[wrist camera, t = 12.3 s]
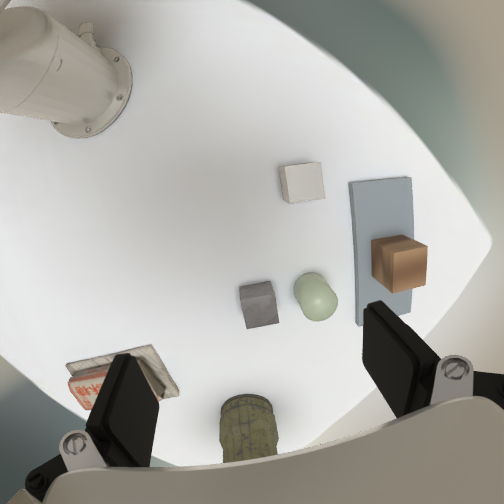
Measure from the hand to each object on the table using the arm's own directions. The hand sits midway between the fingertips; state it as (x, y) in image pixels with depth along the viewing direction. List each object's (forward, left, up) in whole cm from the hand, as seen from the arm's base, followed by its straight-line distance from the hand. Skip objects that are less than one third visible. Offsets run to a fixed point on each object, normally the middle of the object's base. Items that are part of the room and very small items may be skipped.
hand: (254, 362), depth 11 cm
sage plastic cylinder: (+9, +8, -26) cm, 28 cm away
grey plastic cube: (-5, +8, -26) cm, 27 cm away
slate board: (+6, +19, -26) cm, 32 cm away
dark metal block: (+9, +1, -26) cm, 27 cm away
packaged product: (+20, -23, -26) cm, 41 cm away
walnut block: (+6, +19, -24) cm, 31 cm away
